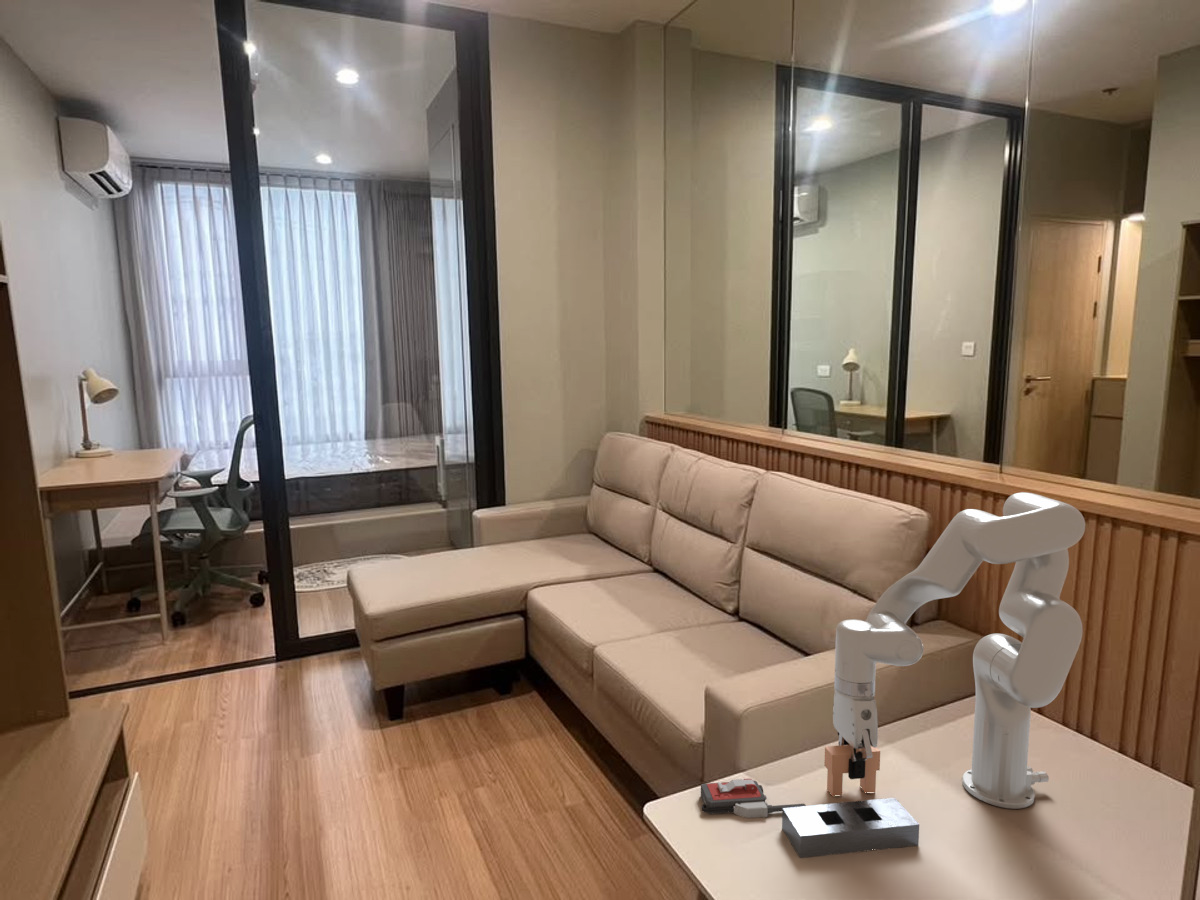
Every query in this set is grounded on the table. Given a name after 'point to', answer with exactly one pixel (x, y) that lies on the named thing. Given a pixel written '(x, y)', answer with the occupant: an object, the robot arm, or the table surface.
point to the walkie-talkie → (738, 799)
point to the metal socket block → (849, 827)
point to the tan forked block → (839, 764)
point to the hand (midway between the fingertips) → (851, 771)
